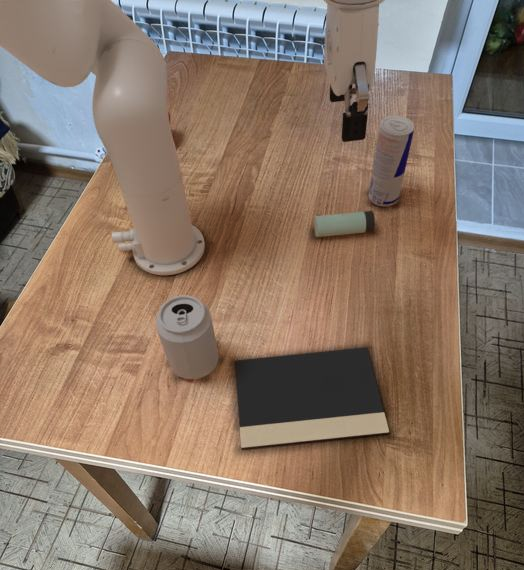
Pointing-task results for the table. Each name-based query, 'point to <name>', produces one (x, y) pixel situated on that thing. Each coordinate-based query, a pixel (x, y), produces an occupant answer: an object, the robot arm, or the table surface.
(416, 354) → the table surface
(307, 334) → the table surface
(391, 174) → the beverage can
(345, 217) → the vial
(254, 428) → the book
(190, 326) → the can
